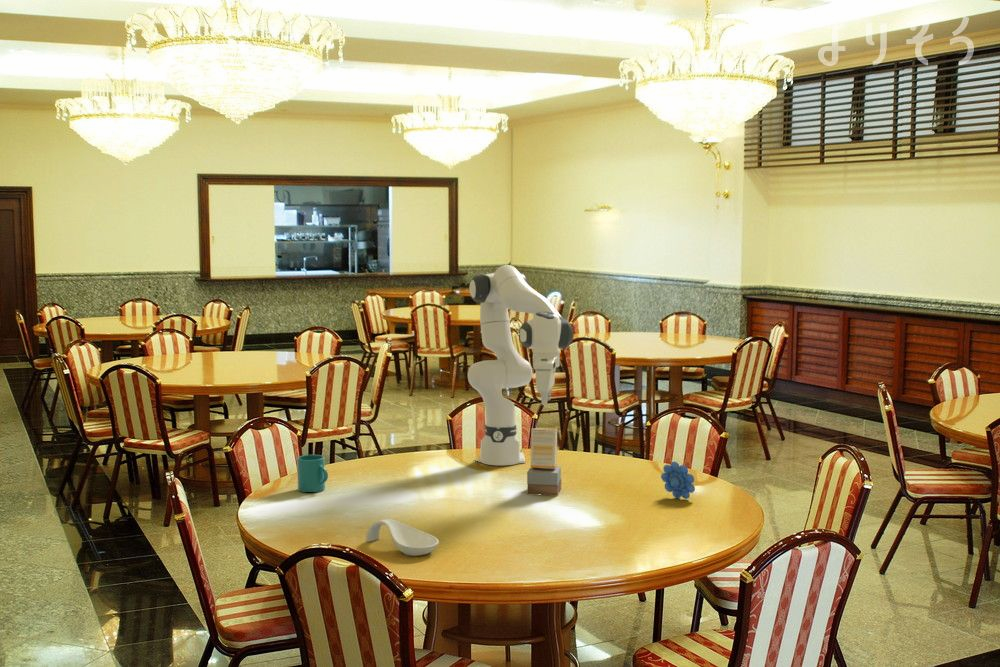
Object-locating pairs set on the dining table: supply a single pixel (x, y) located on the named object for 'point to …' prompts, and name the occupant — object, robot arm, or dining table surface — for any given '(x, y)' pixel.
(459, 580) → the dining table surface
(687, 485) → the blue flower-shaped disc
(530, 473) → the tower top
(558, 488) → the tower bottom
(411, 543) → the spoon rest
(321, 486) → the cup
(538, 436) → the supplement box
